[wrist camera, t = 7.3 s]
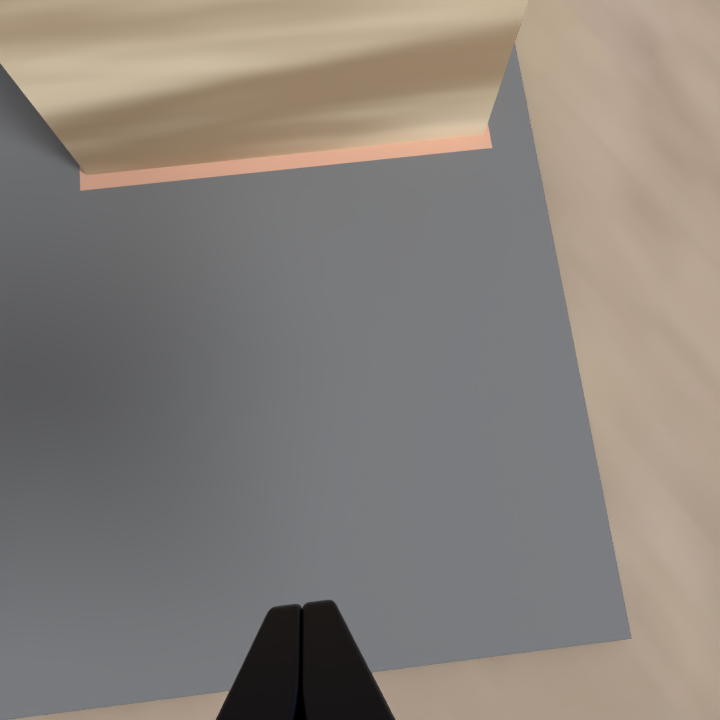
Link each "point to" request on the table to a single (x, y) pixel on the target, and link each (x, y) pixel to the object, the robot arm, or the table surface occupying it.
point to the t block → (254, 74)
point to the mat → (286, 413)
